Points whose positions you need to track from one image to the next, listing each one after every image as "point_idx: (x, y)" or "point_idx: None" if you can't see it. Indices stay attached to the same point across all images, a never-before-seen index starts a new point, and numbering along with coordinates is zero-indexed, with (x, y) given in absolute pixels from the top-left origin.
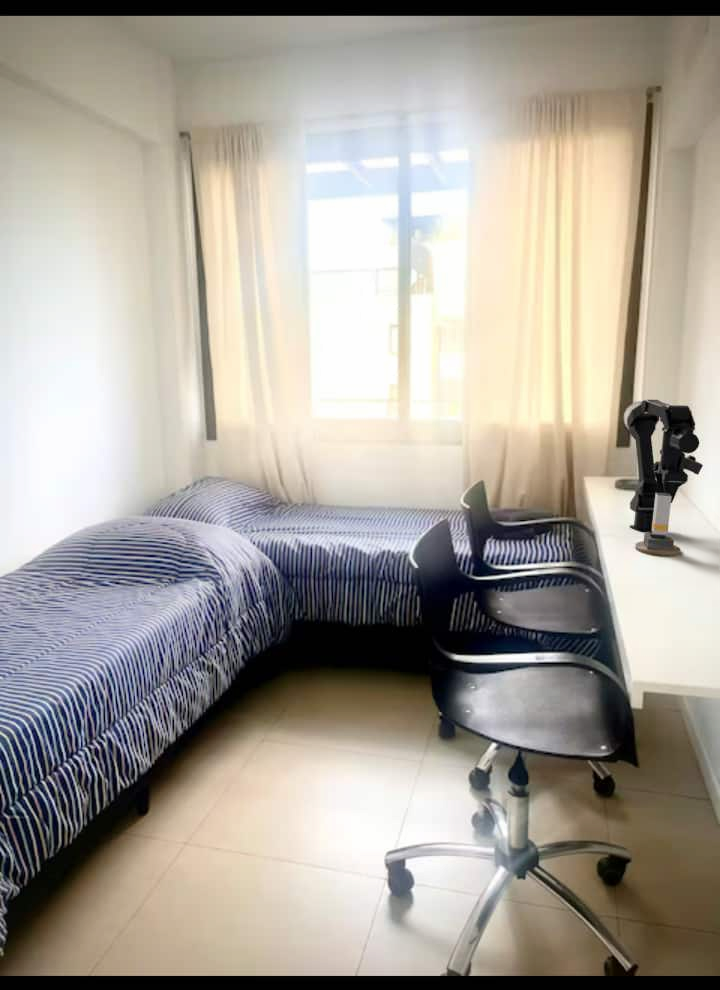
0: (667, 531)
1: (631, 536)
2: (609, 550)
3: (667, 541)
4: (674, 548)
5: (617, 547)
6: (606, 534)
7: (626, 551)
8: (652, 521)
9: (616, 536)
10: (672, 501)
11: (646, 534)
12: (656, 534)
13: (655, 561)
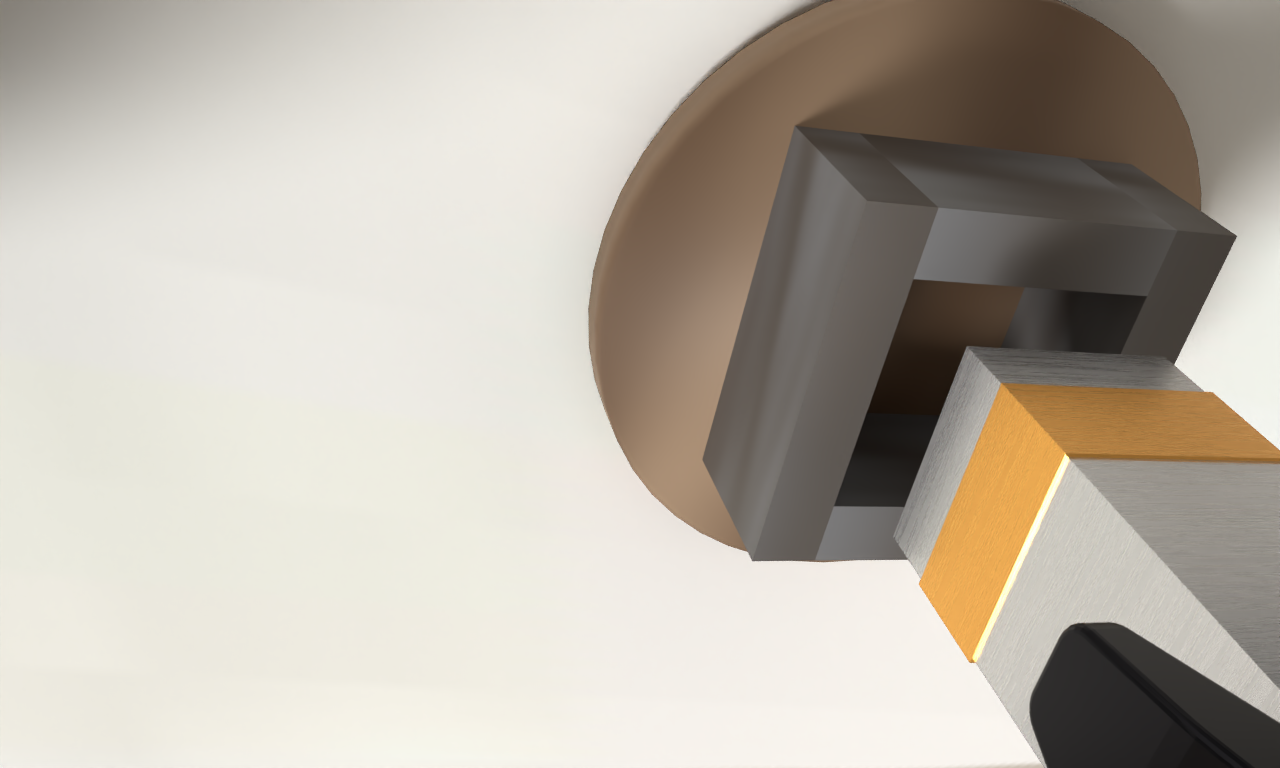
0: (1202, 392)
1: (92, 480)
2: (831, 755)
3: (1181, 317)
4: (1019, 94)
5: (720, 686)
6: (78, 765)
7: (877, 620)
8: (980, 659)
9: (162, 665)
10: (1167, 657)
11: (839, 546)
12: (848, 408)
13: (1259, 405)
